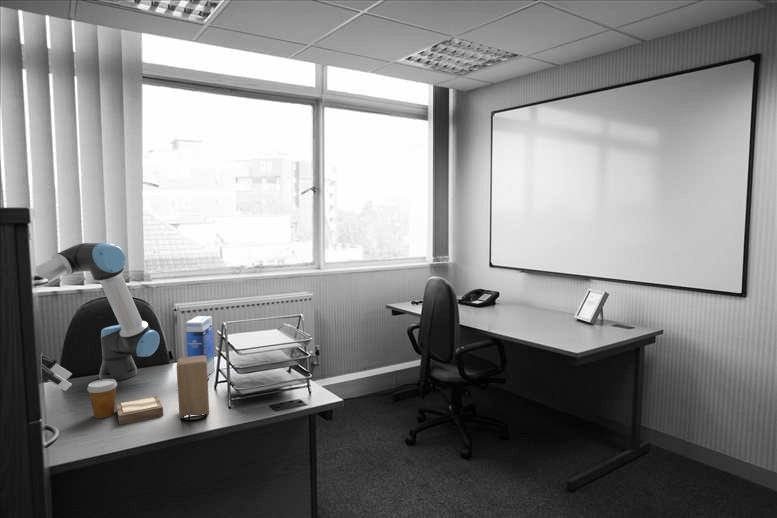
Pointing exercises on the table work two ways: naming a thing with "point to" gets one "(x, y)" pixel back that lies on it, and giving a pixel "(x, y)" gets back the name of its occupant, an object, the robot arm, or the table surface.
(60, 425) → the table surface
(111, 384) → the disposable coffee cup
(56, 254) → the robot arm
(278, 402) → the table surface
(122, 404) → the walnut base
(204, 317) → the string lights box
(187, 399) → the block
